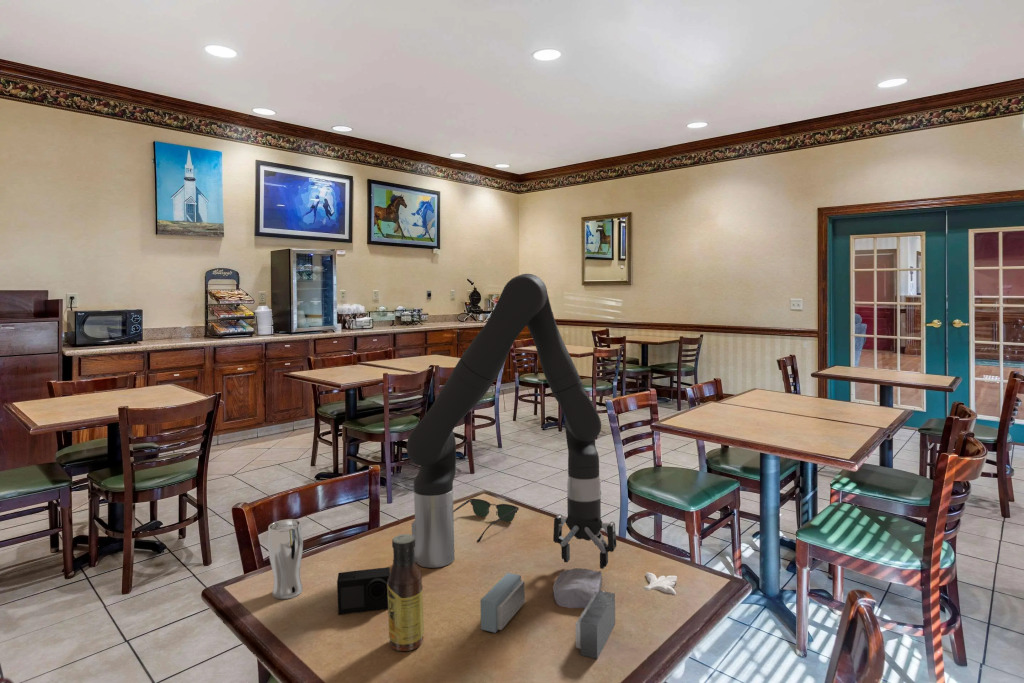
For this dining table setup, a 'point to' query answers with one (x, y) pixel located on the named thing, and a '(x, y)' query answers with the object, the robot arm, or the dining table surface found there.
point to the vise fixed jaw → (595, 624)
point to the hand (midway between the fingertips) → (584, 564)
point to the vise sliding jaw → (502, 602)
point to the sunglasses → (482, 509)
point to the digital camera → (362, 590)
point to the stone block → (576, 587)
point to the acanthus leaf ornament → (661, 583)
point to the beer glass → (286, 557)
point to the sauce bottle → (405, 596)
